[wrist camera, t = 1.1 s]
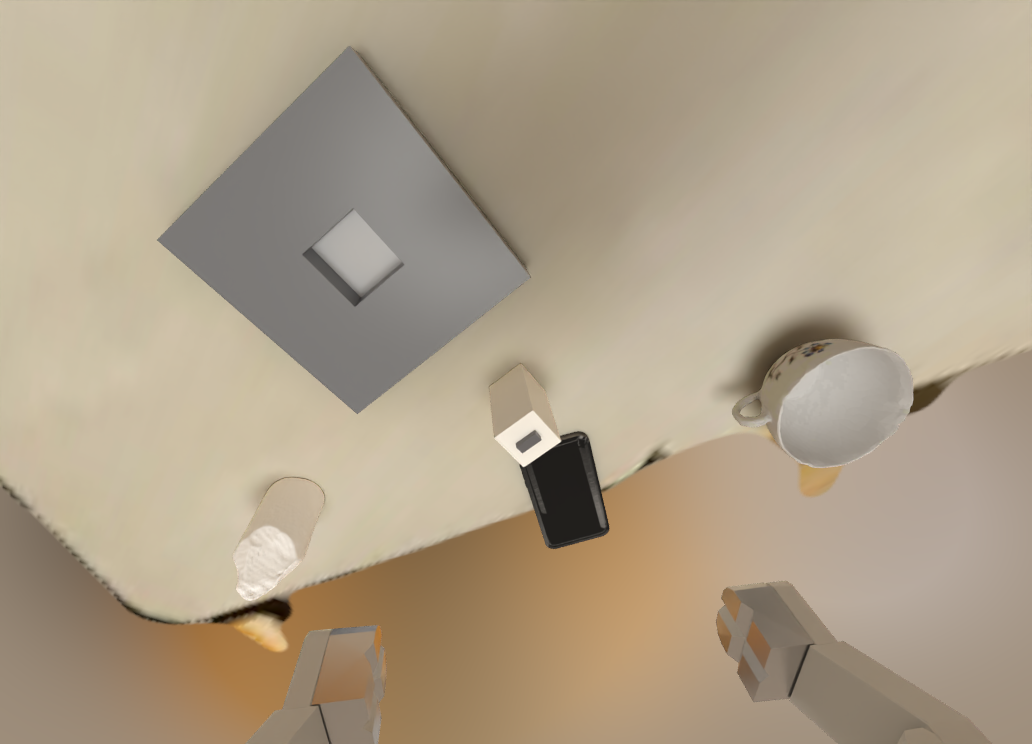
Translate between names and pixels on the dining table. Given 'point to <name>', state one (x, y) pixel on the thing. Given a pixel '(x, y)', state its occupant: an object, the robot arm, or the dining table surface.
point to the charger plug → (522, 416)
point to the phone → (567, 492)
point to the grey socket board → (347, 238)
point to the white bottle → (277, 535)
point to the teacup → (832, 400)
